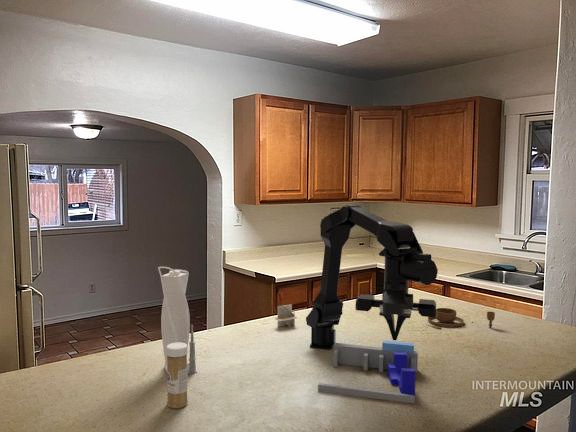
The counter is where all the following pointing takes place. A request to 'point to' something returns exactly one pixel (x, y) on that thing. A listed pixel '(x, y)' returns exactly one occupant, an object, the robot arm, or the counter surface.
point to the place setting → (452, 318)
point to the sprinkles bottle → (177, 374)
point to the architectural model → (285, 315)
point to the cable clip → (402, 374)
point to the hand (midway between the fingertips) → (394, 339)
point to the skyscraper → (176, 314)
